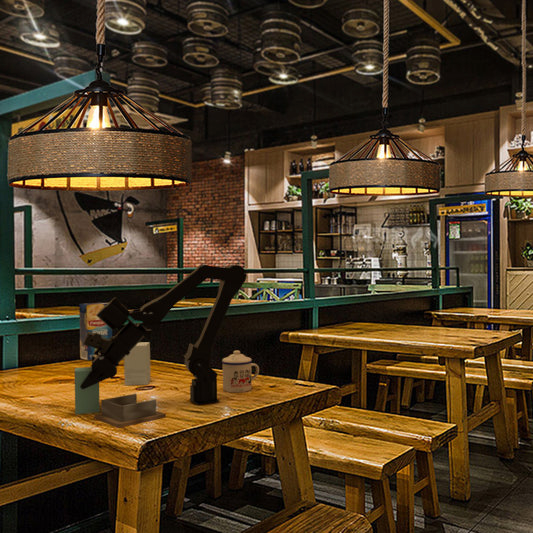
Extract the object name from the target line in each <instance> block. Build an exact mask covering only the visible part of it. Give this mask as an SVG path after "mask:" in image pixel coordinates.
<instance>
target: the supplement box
mask: <svg viewBox="0 0 533 533" xmlns="http://www.w3.org/2000/svg"><path fill="white" fill-rule="evenodd" d="M150 345H151V343H150V341H148V342H146V341H145V342H142V341H140V342H139V343H138V344H137V345H136V346H135V347H134V348H133V349H132V350H131V351H130V354H129V355H128V356H127V355H126V356H125V357H124V358H123V370H124V373H123V374H124V386H141V385H142V386H147V385H149V383H150V382H151V379H152V378H151V346H150Z"/></svg>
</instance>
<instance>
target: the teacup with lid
mask: <svg viewBox="0 0 533 533" xmlns="http://www.w3.org/2000/svg"><path fill="white" fill-rule="evenodd" d="M252 362H253V361H252V358H251V357H248V356H246V355H245V354H243V353H241V351H240V350H234V351H233V354H229V356H227V357H224V358H222V359H221V363H222V389H223V391H224V392H227V393H246V392H248V391H251V390H252V386H253V385H252V381H254V380H255V379H256V378H257V377H258V376H259V374H260V373H259V372H260V367H259V365H258V364H256V363H252ZM252 367H254V368H255V373H254V375H253V376H252Z"/></svg>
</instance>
